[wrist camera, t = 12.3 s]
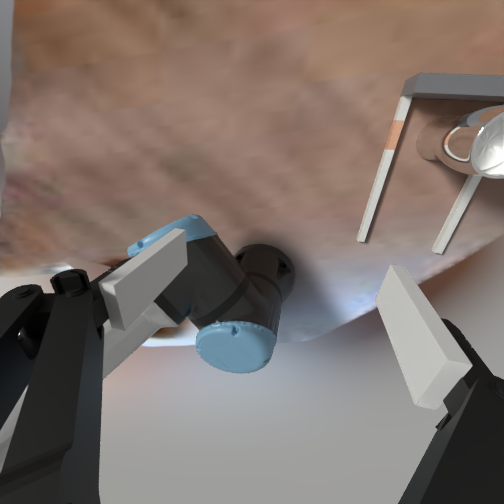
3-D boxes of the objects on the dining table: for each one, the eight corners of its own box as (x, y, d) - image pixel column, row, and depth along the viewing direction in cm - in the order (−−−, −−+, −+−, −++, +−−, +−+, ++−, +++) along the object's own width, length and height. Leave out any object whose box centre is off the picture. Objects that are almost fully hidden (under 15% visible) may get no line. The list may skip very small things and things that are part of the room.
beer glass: (429, 107, 34) (501, 92, 21) (479, 118, 33) (585, 111, 20) (403, 157, 37) (452, 171, 24) (448, 168, 37) (522, 188, 24)
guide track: (438, 250, 43) (452, 264, 38) (356, 238, 45) (361, 249, 41) (523, 84, 31) (558, 77, 26) (406, 80, 33) (419, 72, 29)
